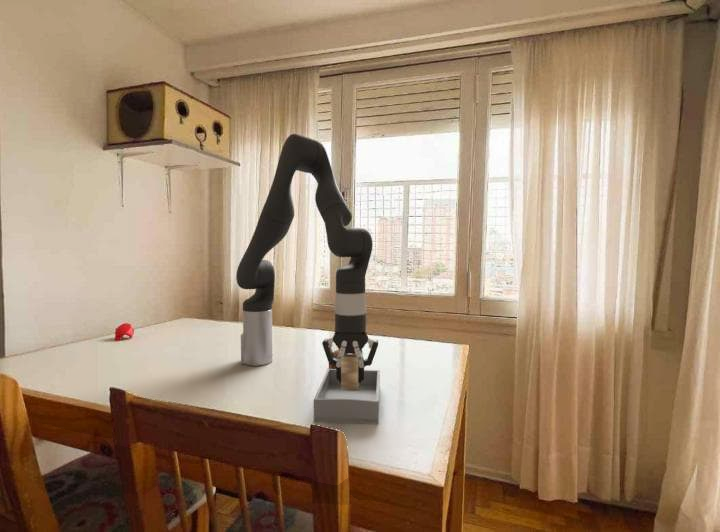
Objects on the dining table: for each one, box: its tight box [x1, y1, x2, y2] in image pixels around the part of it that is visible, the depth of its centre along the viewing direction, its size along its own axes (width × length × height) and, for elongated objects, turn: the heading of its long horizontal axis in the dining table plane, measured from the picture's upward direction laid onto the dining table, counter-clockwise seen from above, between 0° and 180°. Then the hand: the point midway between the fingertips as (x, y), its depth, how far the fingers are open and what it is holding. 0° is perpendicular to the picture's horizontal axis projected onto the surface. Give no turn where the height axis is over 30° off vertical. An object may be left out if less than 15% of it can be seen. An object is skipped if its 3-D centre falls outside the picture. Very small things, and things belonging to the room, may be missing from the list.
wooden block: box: [341, 353, 359, 391], centre depth 91 cm, size 4×4×8 cm
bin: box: [313, 368, 381, 425], centre depth 91 cm, size 14×20×5 cm
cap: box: [114, 322, 135, 342], centre depth 152 cm, size 8×6×6 cm
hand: (350, 381), depth 91 cm, fingers closed on wooden block, 4 cm apart
